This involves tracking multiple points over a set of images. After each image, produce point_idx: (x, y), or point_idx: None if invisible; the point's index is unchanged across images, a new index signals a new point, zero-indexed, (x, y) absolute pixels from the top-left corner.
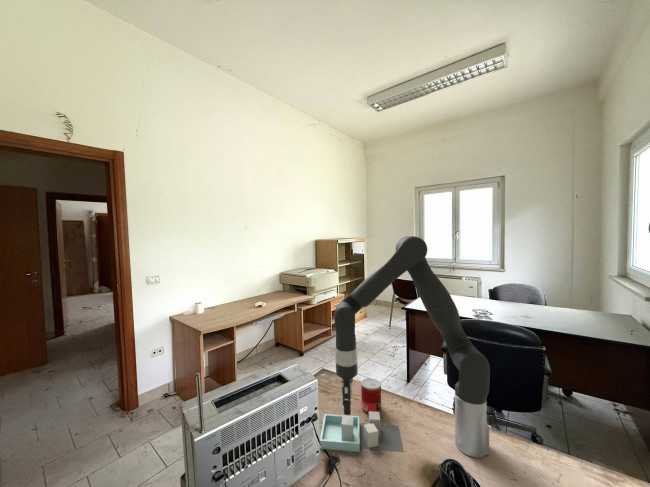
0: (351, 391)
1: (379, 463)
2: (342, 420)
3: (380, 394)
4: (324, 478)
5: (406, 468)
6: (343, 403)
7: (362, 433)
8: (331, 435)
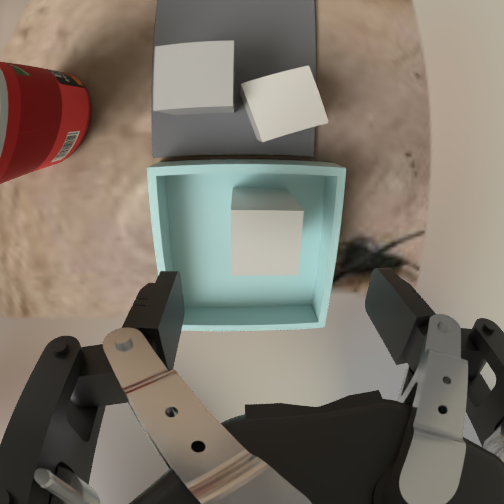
0: (464, 392)
1: (371, 92)
2: (266, 271)
3: (18, 64)
4: (411, 275)
5: (377, 12)
6: (477, 376)
7: (222, 145)
8: (253, 280)
